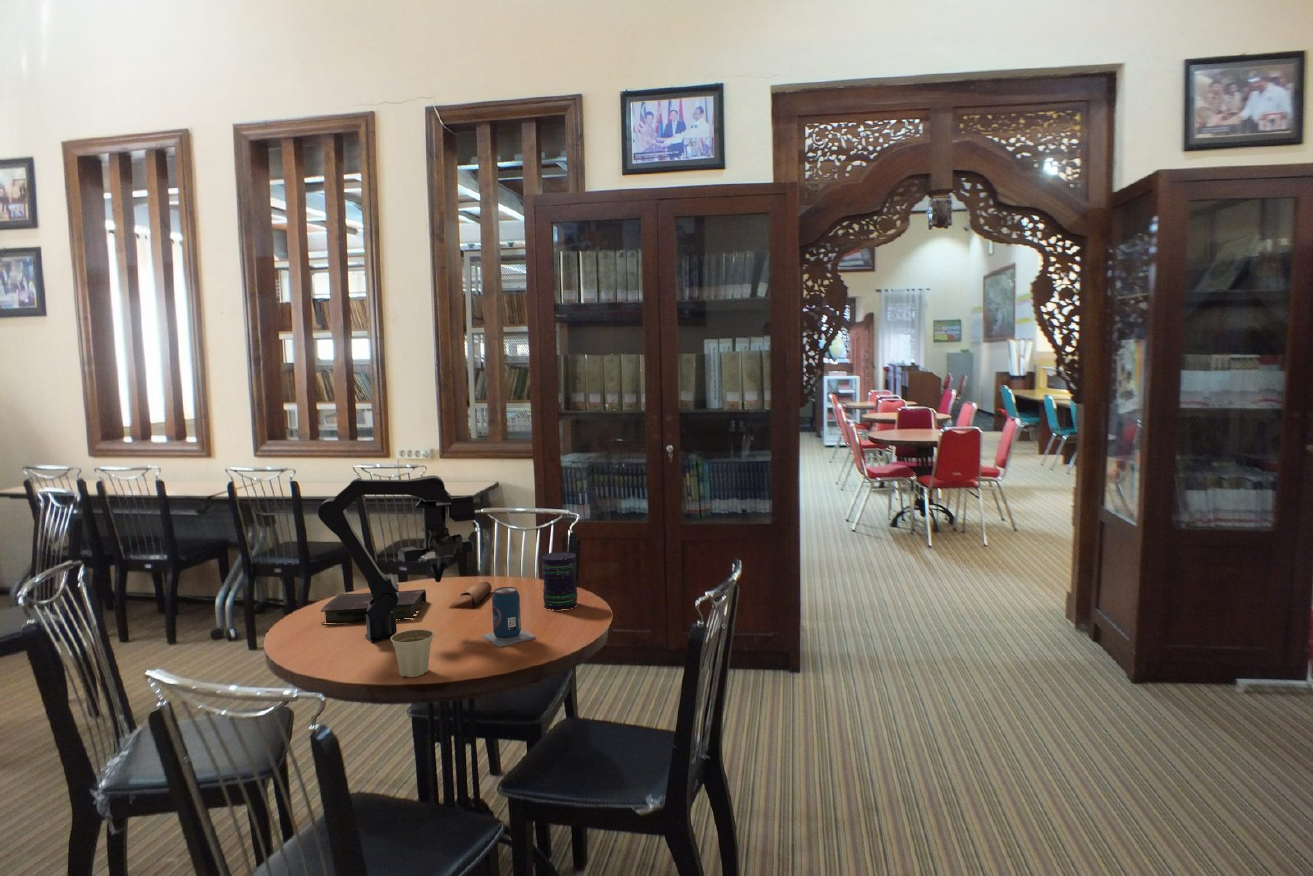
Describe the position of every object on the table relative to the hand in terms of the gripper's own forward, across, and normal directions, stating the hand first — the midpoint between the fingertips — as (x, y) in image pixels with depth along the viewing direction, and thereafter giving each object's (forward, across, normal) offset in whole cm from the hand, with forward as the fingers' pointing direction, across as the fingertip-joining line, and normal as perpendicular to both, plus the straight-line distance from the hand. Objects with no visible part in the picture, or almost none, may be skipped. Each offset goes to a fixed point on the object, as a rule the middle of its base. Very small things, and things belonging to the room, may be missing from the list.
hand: (438, 582), depth 202 cm
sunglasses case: (+14, +18, +21) cm, 31 cm away
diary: (+14, -8, +28) cm, 32 cm away
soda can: (+13, +11, -18) cm, 24 cm away
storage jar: (+13, +35, -3) cm, 38 cm away
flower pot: (+13, -16, -25) cm, 32 cm away
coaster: (+13, +11, -18) cm, 25 cm away
